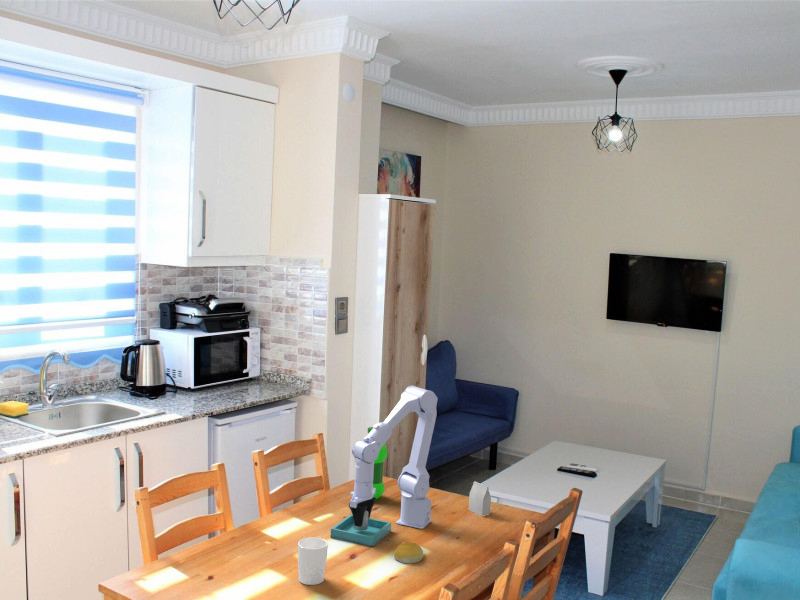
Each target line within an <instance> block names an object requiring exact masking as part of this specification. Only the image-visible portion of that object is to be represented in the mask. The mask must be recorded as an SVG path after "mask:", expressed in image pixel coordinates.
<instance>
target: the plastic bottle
mask: <svg viewBox="0 0 800 600" xmlns="http://www.w3.org/2000/svg"><path fill="white" fill-rule="evenodd" d="M373 428H374V427H373V426H369V427H367V435H368V434H369V432H370V431H371V430H372V429H373ZM385 444H386V443H384V445H383V446H382V447H381V449H380V451H379V455H378V458H377V459H376V460H375V461H374V473H373V488H376V491H375V495H373V497H375V498H376V501H377V500H378V499H379V498H380V497H382V495H383V494H385V489H386V487H385V483H384V482H383V477H384V476H383V475H384V462H385V461H386V459H387V458H388V451H389V450H388V447H387V446H386V445H385Z"/></svg>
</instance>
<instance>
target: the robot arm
mask: <svg viewBox="0 0 800 600" xmlns="http://www.w3.org/2000/svg"><path fill="white" fill-rule="evenodd" d="M438 400H439V399H438V397H437V395H436V394H435V392H434V391H433V390H428V389H426V388H421V387H417V386H415V385H409V386H407V387H406V389H405V390H404V391H403V392H402V393H401V395H400V400H399V401H398V402H397V404H396V405H395V406H394V408H393V409H392V410H391V412H390V413H389V415H387V417H386V418H385V419H384V421H382V422H377V423H375V424H374V425H373V426H372V427H374V428H373V429H372V430H371V431H370V432H369V434H368V433H367V435H366V436H365V437H363V439H362V440H359V441H357V442H356V443H355V444H354V445H353V449H351V454H352V457H354V463H355V464H354V465H355V468H354V483H353V484H354V486H353V487H354V488H353V490H352V491H350V496H351V500H349V503H348V508H349V509H350V512H351V514H352V515H353V519H354V524H355V526H358V527H361V526H362V524H363V518H364V513H365V511H366V510H367V511H368V512H369V513H368V521H369V518H370V517H371V514H372V510H373V507H374V505H375V503H376V501H377V500H376V498H375V497H373V495H375V491H376V488H373V473H374V461H375V460H376V459H377V458H378V455H379V451H380V449H381V447H382V446H383V445H384V444H386V443H387V441H388V440H389V439H390V438H391V437H392V435H393V434H392V433H393V432H392V431H393V429H394V428H395V426H397V425H398V424H399V423H400V422H401V421H402V420H403V419H404V418H405V417H406V416H407V415H408V414H409V413H416V415H417V416H418V419H417V423H416V429H415V432H414V433H415V434H414V437H413V442H412V448H411V452H410V456H409V461H408V464H407V465H405V466H404V467H402V470H401V473H400V475H399V476H398V479H397V487H398V489H399V490H400V494H401V500H400V502H401V503H400V516H399V517H400V518H399V519H398V520H396V521H395V524H397V525H401V526H407V527H410V528H411V527H412V528H416V529H422V530H423V529H424V528H425V527H427V526H428V525H429V524H430V523H431V522H432V519H431V514H432V499H430V498H429V497H426V496H427V495H428V493H429V491H430V474H429V472H428V471H427V468H426V466H427V461H428V457H429V452H430V447H431V443H432V437H433V433H434V429H435V424H436V419H437V417H438V416H437V405H438V404H437V403H438Z"/></svg>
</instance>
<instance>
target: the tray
mask: <svg viewBox="0 0 800 600" xmlns="http://www.w3.org/2000/svg"><path fill="white" fill-rule="evenodd" d="M353 527H354V519H353V515H352V513H351V514H349V515H347V517H345V518H344V519H342V520H341V521H339V522H338V523H337V524H335V525H334V526H333V527H331V528H330V538H331V539H337V540H341V541H345V542H348V543H349V542H350V543H354V544H359V545H362V546H368V547H374V546H375V545H376V544H377V543H379V542H380V541H381V540H382V539H384V537H386V535H388V534H389V533H390V532H391V531H392V522H391V521H386V520H380V519H375V518H369V521H368V529H367V530H363V531H359V530H355V529H354V528H353Z"/></svg>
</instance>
